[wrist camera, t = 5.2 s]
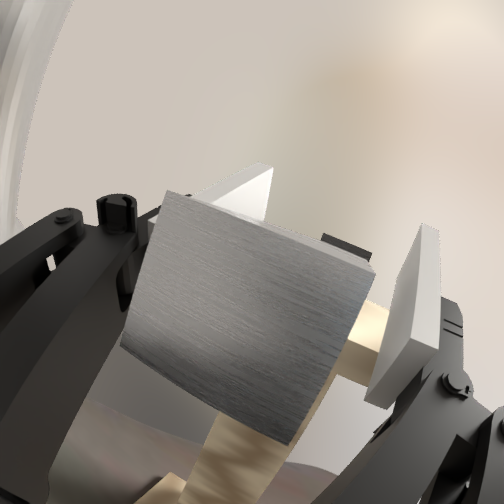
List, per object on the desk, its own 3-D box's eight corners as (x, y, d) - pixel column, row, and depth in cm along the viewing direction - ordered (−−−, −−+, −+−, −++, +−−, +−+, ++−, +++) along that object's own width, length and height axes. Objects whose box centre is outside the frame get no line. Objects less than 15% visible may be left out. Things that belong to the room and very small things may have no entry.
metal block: (301, 452, 4) (408, 239, 4) (110, 338, 6) (168, 153, 5) (354, 294, 25) (371, 253, 25) (310, 275, 26) (326, 234, 26)
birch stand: (95, 538, 18) (158, 249, 15) (167, 478, 31) (256, 252, 28) (220, 612, 14) (449, 381, 10) (267, 532, 27) (408, 318, 23)
